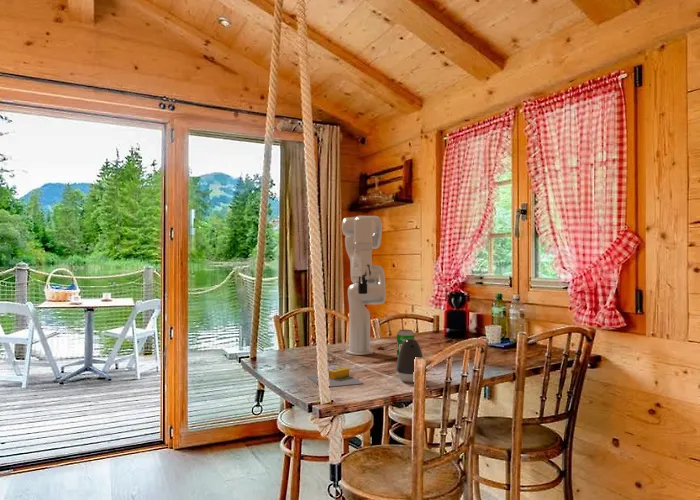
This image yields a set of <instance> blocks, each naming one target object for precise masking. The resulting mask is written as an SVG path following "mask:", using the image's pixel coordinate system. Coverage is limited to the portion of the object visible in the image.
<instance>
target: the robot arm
mask: <svg viewBox="0 0 700 500" xmlns="http://www.w3.org/2000/svg"><path fill="white" fill-rule="evenodd" d="M341 232H342V235H343V236H345V237H344V244H345V245H344V246H345V251H346V254H347V255H348V258H349V261H350V262H349V263H350V281H351V282H352V284H350V285H349V286H348V288H347V301H348V309H349V312H348V314H349V317H348V318H349V322H348V326H349V328H348V330H349V331H348V333H349V334H348V335H349V336H348V339H349V340H348V348H346V349H345V353H346V354H348V355H353V356H354V355H355V356H363V355H364V356H366V355H372V354H373V353H374V349H373V348H371V313H370V311H369V309H368V308H367V307H366V306H365V305H383V304H384V303H385V302H386V299H387V291H386V290H387V289H386V287H387V286H386V278H385V270H384V267H382V266H381V265H379V264H378V265H377V264H373V258H372V257H373V256H372V252H373V250H374V249H375V250H376V249H379V248H380V246H381V245H382V235H383V221H382V219H381V217H380V216H377V215H357V216H351V217H344V218H343V219H342V222H341Z"/></svg>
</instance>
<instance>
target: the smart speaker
mask: <svg viewBox="0 0 700 500" xmlns="http://www.w3.org/2000/svg"><path fill="white" fill-rule="evenodd" d="M415 357H423V358H424V355H423V351H422V347H421V345H420V344H419V342H418V340H417V339H415V338H414V339H413V338H408V339H406V340H405V341H404V342H403V344H402V346H401V348H400V351H399V355H398V356H397V360H396V367H395V368H396V369H395V371H396V373H397V377H399V379H400V380H401V381H402V382H404V383H410V384H411V383H413V372H414V359H415Z"/></svg>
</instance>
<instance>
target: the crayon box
mask: <svg viewBox="0 0 700 500" xmlns="http://www.w3.org/2000/svg"><path fill="white" fill-rule="evenodd" d="M327 366H328V369H329V378H330V379H334V380H337V381H340V380H344V379H342V378H345V379H348V378H353V377H354V376H352V377H350V376H349V375H350V368H347V367H343V366H339V365H336V364H330V365H329V364H328V365H327Z"/></svg>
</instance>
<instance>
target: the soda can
mask: <svg viewBox="0 0 700 500" xmlns="http://www.w3.org/2000/svg"><path fill="white" fill-rule="evenodd" d="M408 338H413V339H415V332H414V331H413V329H412V330H411V329H399V330H398V331H397V332H396V356H397V357H398V355H399V351H400V348H401V346H402V344H403V342H404V341H405V340H406V339H408Z"/></svg>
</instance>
